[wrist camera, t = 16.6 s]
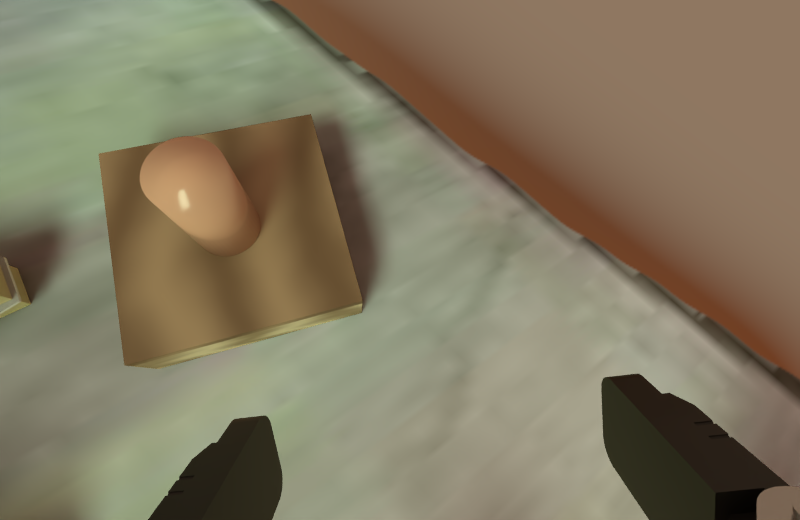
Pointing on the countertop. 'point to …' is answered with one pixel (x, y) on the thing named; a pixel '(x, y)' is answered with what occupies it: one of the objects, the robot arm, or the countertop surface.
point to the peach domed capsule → (201, 195)
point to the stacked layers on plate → (11, 289)
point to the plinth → (232, 275)
